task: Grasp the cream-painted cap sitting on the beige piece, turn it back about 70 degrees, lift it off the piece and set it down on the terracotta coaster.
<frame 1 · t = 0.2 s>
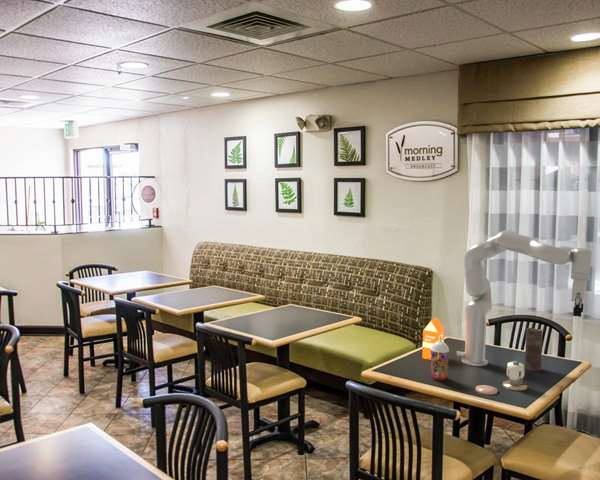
hand: (578, 314, 248), 31 cm above the table, fingers open, 9 cm apart
smoothie: (438, 378, 254), on the table
candle: (532, 369, 267), on the table
orange juice: (432, 357, 284), on the table
coaster: (486, 390, 239), on the table
beige piece: (514, 386, 244), on the table
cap: (515, 375, 244), point 5 cm above the table, touching beige piece
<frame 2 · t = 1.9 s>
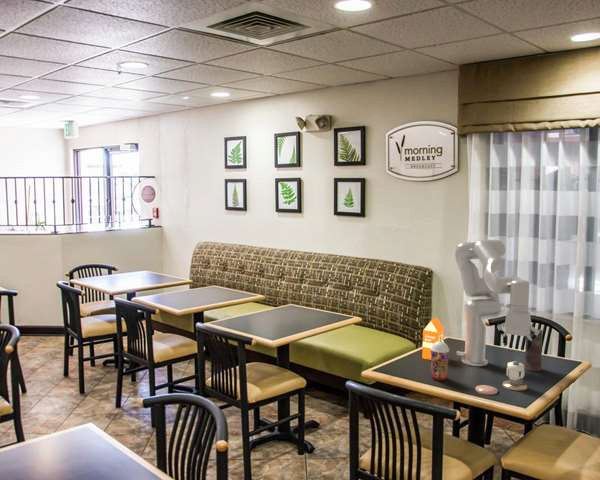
hand: (517, 347, 242), 18 cm above the table, fingers open, 9 cm apart
nothing on the table moved.
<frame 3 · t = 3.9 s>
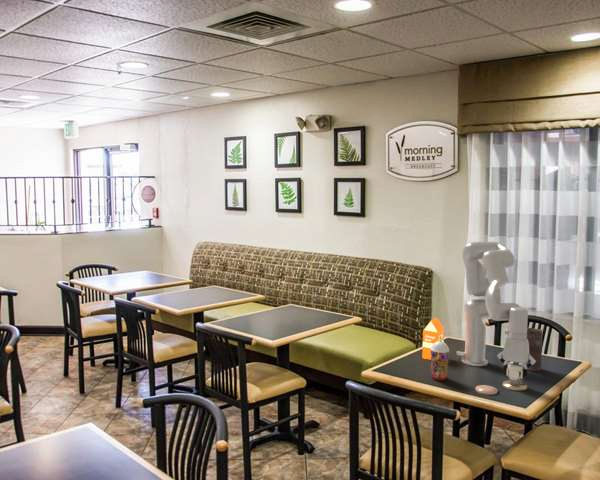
hand: (515, 375, 244), 5 cm above the table, fingers closed on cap, 6 cm apart
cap: (515, 375, 244), point 5 cm above the table, touching gripper, beige piece
everything else where it was.
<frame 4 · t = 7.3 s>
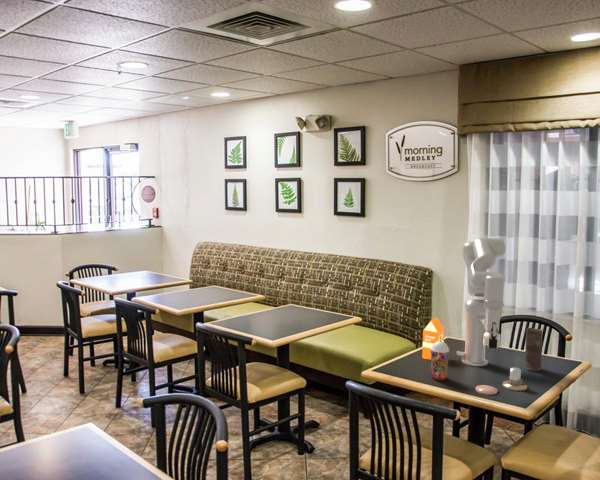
hand: (491, 345, 237), 20 cm above the table, fingers closed on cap, 6 cm apart
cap: (491, 345, 237), point 20 cm above the table, touching gripper
everything else where it was.
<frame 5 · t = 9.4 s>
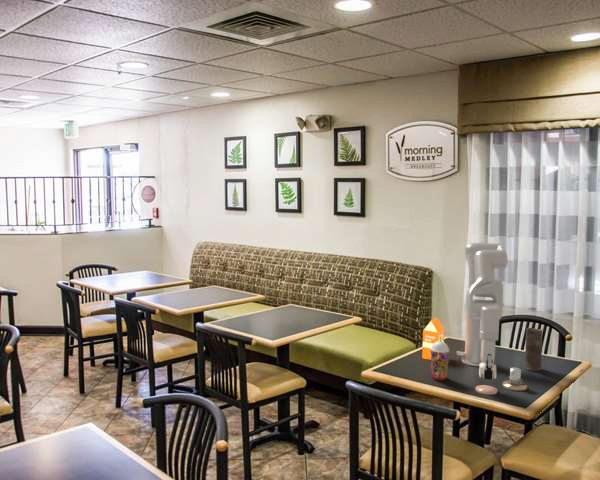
hand: (487, 375, 238), 7 cm above the table, fingers closed on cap, 6 cm apart
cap: (487, 376, 238), point 6 cm above the table, touching gripper
everything else where it was.
when the fingers open (2 cm above the table, at t = 11.1 s): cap drops 1 cm, resting on coaster.
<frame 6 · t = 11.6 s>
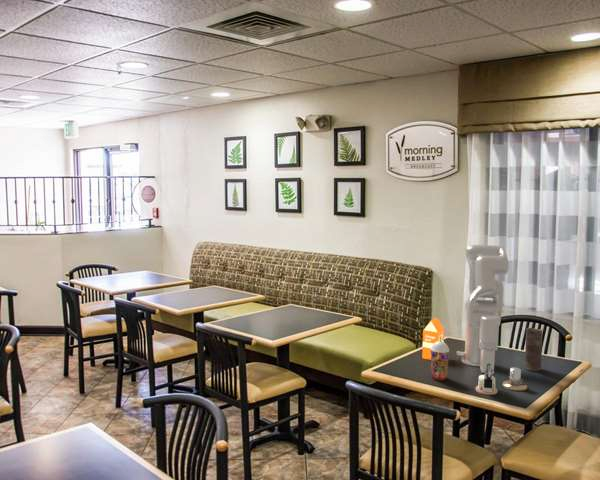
hand: (486, 383, 239), 3 cm above the table, fingers open, 9 cm apart
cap: (486, 388, 239), point 1 cm above the table, touching coaster
everything else where it was.
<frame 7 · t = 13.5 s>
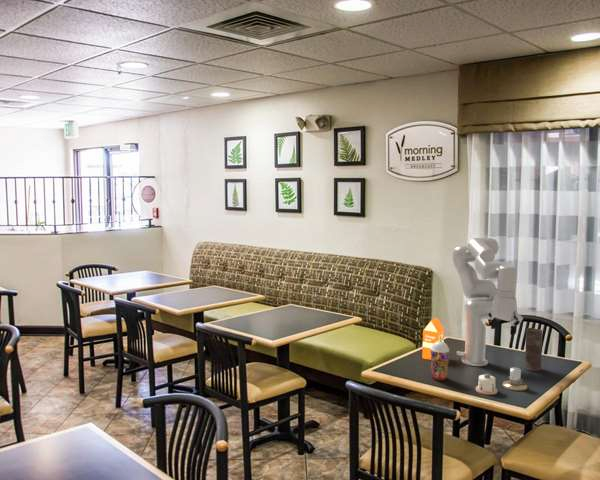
hand: (503, 331, 246), 23 cm above the table, fingers open, 9 cm apart
nothing on the table moved.
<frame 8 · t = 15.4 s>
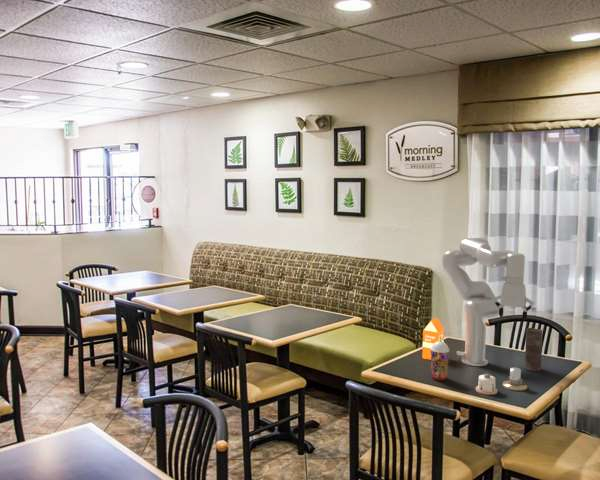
hand: (512, 318, 250), 28 cm above the table, fingers open, 9 cm apart
nothing on the table moved.
at the end: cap inside the target area on the coaster (0.3 cm from its centre), point 0.8 cm above the coaster's base; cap tilted 0°; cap touching coaster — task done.
